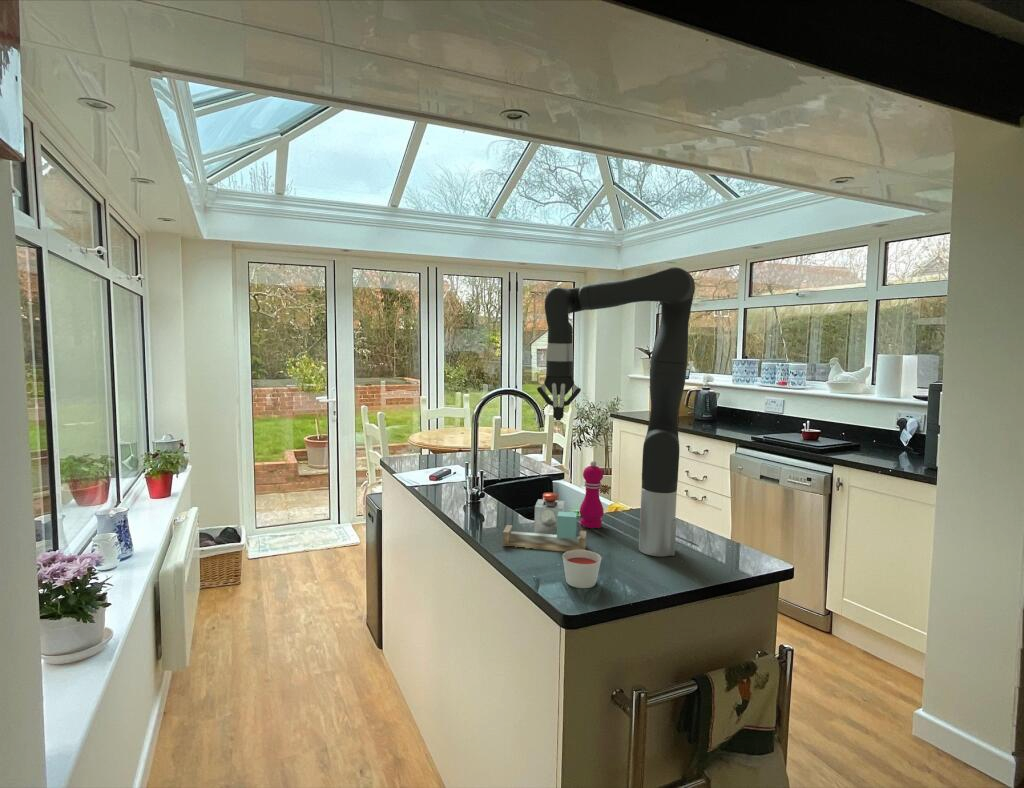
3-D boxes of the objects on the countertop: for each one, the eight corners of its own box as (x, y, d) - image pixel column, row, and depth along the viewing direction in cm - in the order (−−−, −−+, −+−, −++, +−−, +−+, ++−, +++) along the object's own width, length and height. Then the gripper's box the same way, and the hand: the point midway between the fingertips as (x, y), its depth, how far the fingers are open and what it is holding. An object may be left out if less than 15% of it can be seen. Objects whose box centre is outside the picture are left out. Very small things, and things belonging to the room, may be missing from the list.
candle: (608, 583, 142) (609, 557, 141) (583, 594, 135) (584, 567, 135) (578, 571, 148) (579, 546, 147) (553, 581, 142) (554, 556, 141)
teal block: (576, 534, 165) (577, 512, 165) (575, 539, 161) (576, 517, 161) (558, 532, 166) (558, 511, 165) (556, 537, 162) (557, 515, 161)
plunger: (557, 523, 179) (558, 493, 178) (556, 528, 175) (557, 497, 174) (542, 522, 180) (543, 492, 179) (541, 526, 176) (542, 496, 175)
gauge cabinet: (563, 526, 181) (564, 500, 180) (561, 536, 173) (562, 509, 172) (537, 524, 182) (538, 499, 181) (533, 534, 174) (534, 507, 173)
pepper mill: (602, 530, 178) (605, 464, 176) (577, 528, 180) (580, 462, 178) (603, 523, 186) (606, 459, 183) (580, 521, 187) (582, 457, 185)
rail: (585, 545, 166) (586, 531, 166) (584, 553, 160) (585, 538, 160) (506, 538, 170) (506, 524, 169) (502, 546, 164) (502, 532, 163)
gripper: (534, 359, 168) (533, 421, 170) (582, 360, 166) (580, 422, 168) (538, 358, 176) (537, 417, 177) (583, 359, 173) (582, 418, 175)
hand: (558, 419), depth 173 cm, fingers closed
